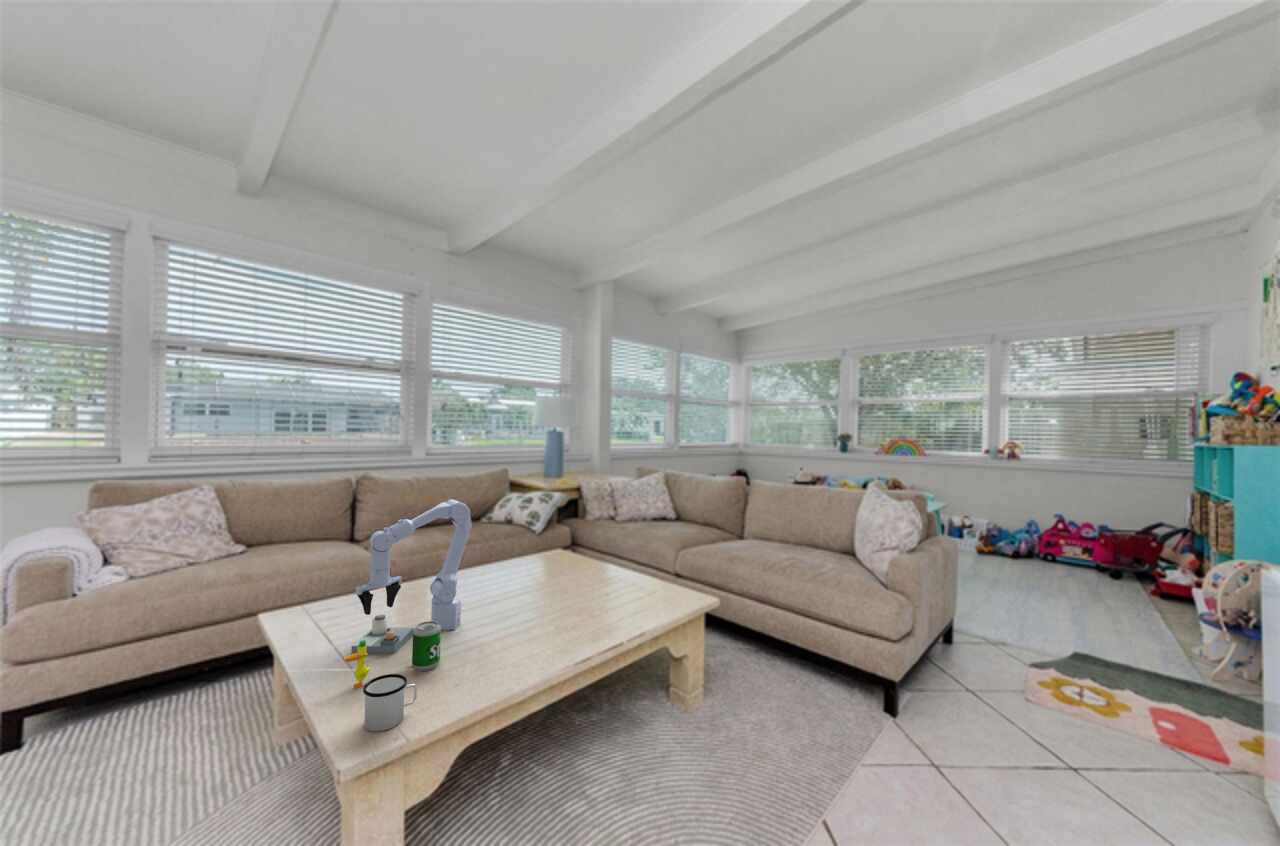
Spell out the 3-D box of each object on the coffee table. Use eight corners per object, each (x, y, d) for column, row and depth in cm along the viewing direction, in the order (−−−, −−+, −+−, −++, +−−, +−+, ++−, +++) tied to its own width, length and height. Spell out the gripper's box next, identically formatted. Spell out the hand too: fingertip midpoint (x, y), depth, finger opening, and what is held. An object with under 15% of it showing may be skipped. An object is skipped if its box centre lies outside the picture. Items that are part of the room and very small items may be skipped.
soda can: (422, 675, 137) (423, 632, 137) (406, 667, 141) (407, 626, 141) (445, 664, 144) (446, 624, 144) (429, 657, 148) (430, 618, 148)
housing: (413, 634, 163) (413, 622, 163) (395, 654, 149) (395, 641, 149) (373, 634, 162) (373, 622, 162) (351, 654, 148) (351, 641, 148)
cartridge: (389, 635, 161) (389, 614, 161) (383, 641, 157) (383, 619, 157) (375, 635, 161) (376, 614, 161) (369, 641, 157) (369, 619, 157)
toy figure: (344, 693, 127) (346, 647, 127) (341, 687, 129) (343, 643, 130) (373, 684, 131) (374, 640, 132) (369, 679, 134) (371, 636, 134)
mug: (368, 739, 109) (369, 699, 109) (356, 720, 116) (357, 682, 116) (422, 718, 117) (424, 680, 117) (408, 701, 124) (409, 666, 124)
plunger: (396, 637, 152) (396, 630, 152) (392, 640, 150) (392, 634, 150) (387, 637, 152) (387, 630, 152) (383, 640, 150) (384, 634, 150)
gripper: (393, 561, 166) (392, 601, 166) (350, 572, 154) (349, 614, 153) (406, 564, 163) (404, 605, 163) (363, 575, 150) (362, 619, 150)
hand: (378, 610), depth 158 cm, fingers open, 7 cm apart
